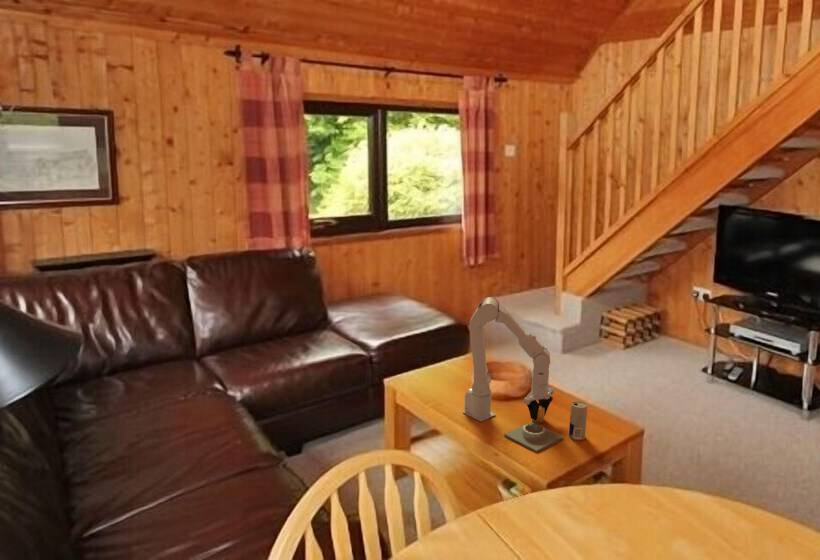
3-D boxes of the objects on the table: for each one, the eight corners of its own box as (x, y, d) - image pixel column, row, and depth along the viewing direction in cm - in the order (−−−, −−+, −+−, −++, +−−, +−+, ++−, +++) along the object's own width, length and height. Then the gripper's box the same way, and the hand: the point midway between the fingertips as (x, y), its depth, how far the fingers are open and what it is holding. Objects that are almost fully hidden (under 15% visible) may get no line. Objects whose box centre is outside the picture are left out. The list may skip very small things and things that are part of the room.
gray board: (504, 436, 203) (504, 433, 203) (530, 423, 212) (530, 421, 212) (536, 452, 193) (536, 450, 193) (563, 439, 201) (563, 436, 201)
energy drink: (572, 431, 207) (575, 399, 204) (587, 436, 203) (590, 404, 200) (566, 437, 203) (568, 405, 200) (581, 442, 199) (583, 409, 196)
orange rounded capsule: (529, 420, 215) (529, 407, 213) (536, 416, 217) (537, 404, 216) (538, 424, 211) (539, 411, 210) (546, 420, 214) (547, 408, 213)
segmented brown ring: (518, 434, 203) (518, 428, 202) (532, 428, 207) (532, 421, 207) (535, 443, 197) (535, 436, 196) (549, 436, 202) (549, 429, 201)
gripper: (535, 391, 203) (533, 427, 207) (561, 380, 212) (559, 414, 215) (520, 384, 208) (518, 419, 212) (546, 374, 217) (543, 408, 221)
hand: (537, 416), depth 214 cm, fingers closed on orange rounded capsule, 4 cm apart
